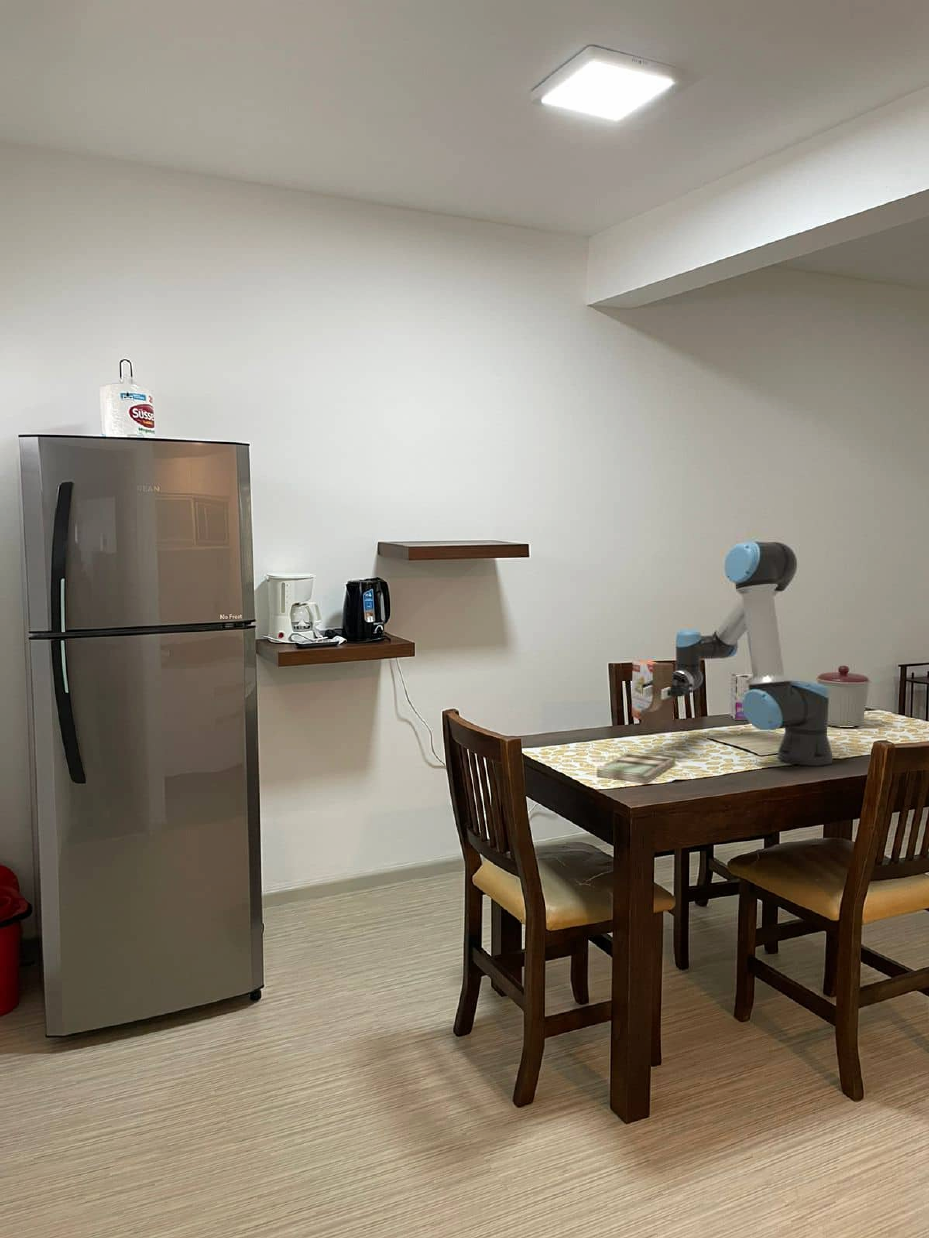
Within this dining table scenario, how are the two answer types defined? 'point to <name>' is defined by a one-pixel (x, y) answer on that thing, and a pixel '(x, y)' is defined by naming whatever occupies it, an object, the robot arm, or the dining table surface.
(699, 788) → the dining table surface
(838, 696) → the canister
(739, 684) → the candy bar box
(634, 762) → the board
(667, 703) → the wooden block
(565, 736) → the dining table surface
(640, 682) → the cracker box
